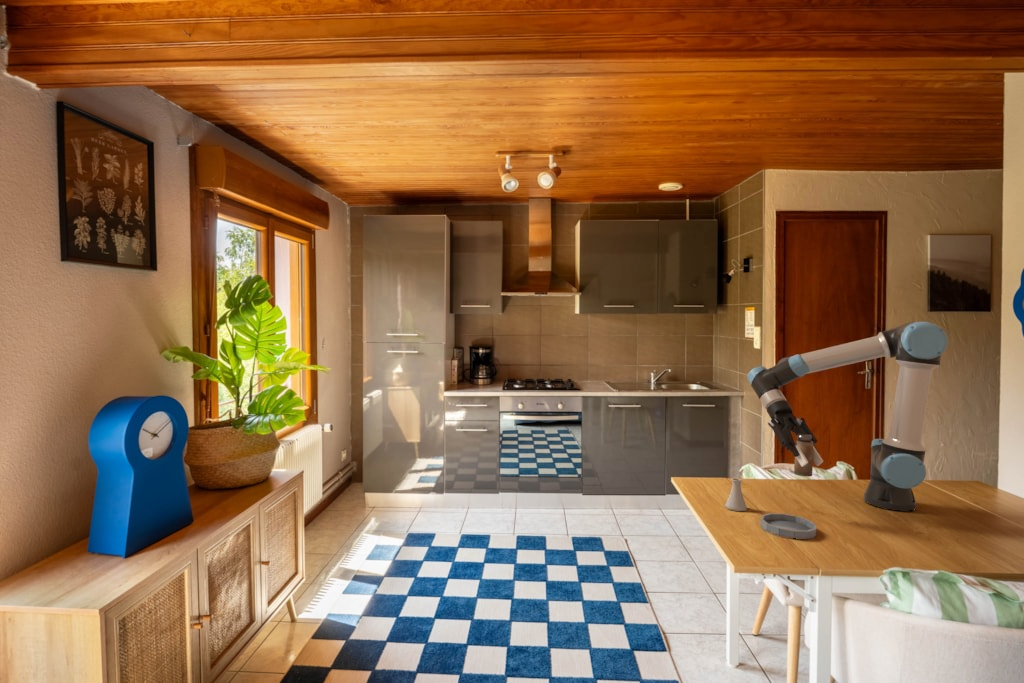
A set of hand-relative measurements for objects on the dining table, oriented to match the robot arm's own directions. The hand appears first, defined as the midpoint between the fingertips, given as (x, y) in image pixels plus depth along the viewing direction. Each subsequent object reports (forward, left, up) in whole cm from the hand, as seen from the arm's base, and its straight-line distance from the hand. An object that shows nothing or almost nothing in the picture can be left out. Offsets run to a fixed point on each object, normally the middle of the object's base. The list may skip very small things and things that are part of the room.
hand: (812, 464), depth 172 cm
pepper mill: (+1, -4, -4) cm, 6 cm away
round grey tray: (+12, +8, -18) cm, 23 cm away
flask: (+20, -11, -19) cm, 29 cm away
